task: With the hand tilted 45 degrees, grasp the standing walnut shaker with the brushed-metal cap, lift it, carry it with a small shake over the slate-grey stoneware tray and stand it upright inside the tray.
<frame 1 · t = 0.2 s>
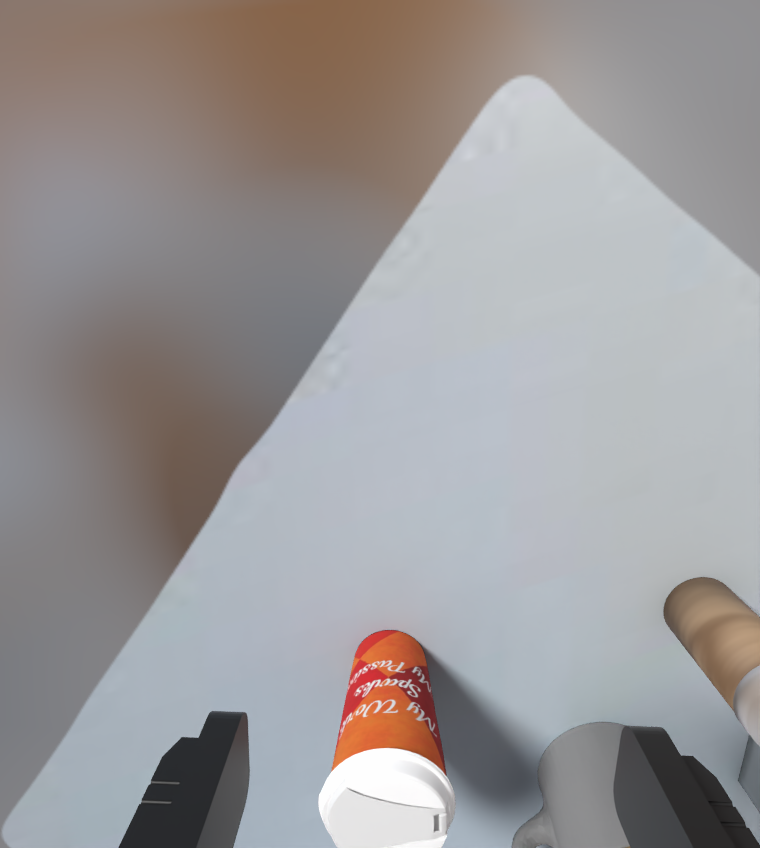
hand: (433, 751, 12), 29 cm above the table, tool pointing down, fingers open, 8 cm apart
coffee mug: (576, 774, 48), on the table
walnut shaker: (698, 608, 44), on the table
paper cup: (389, 659, 46), on the table
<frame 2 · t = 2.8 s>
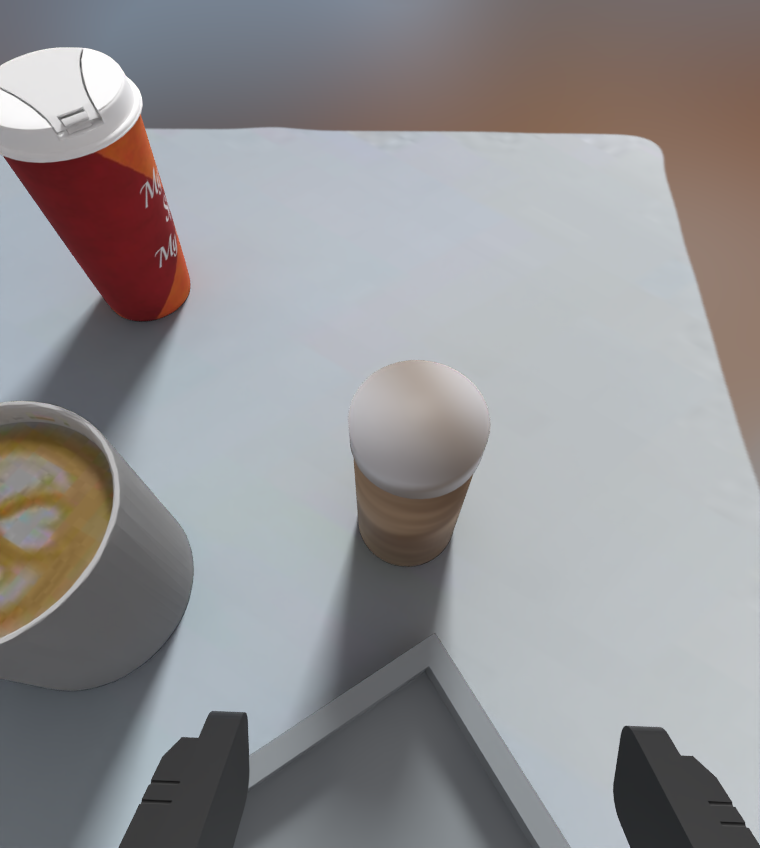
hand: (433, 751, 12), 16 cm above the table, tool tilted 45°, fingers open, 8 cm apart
coffee mug: (78, 563, 31), on the table
walnut shaker: (406, 519, 32), on the table
paper cup: (150, 291, 40), on the table
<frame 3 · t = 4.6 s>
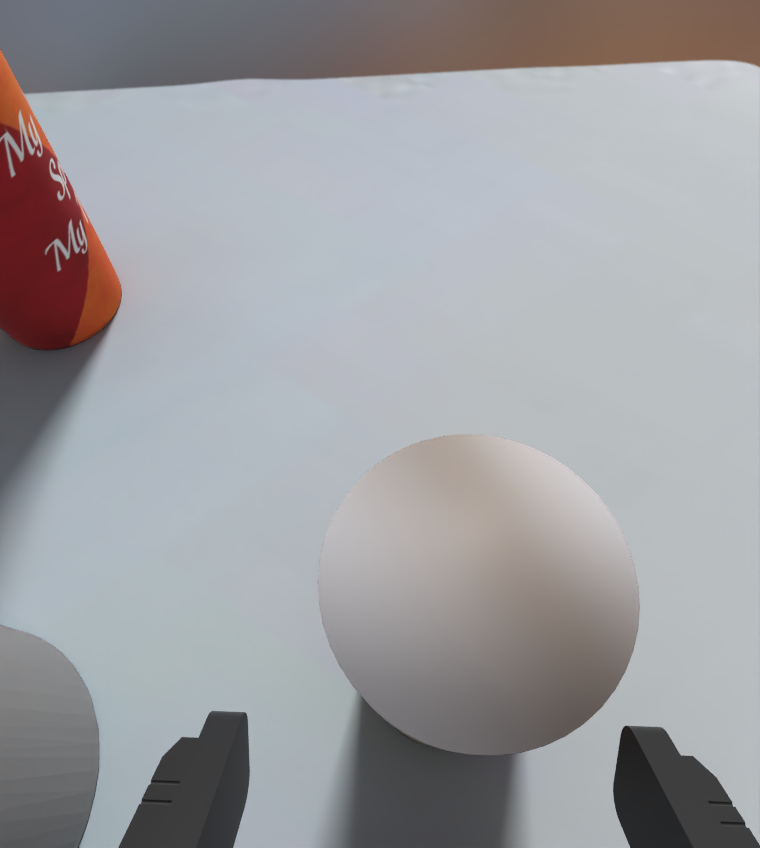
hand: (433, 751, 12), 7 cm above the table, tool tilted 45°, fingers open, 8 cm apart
walnut shaker: (443, 659, 20), on the table
paper cup: (66, 306, 28), on the table
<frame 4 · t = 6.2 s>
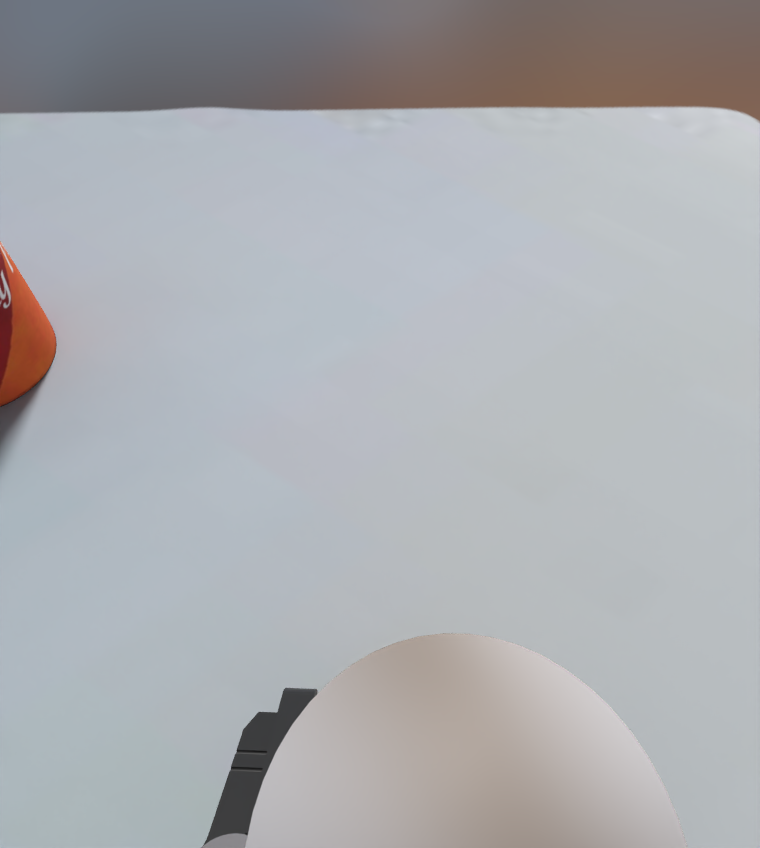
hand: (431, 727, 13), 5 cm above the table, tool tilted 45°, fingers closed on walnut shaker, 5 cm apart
walnut shaker: (417, 810, 16), on the table, touching gripper
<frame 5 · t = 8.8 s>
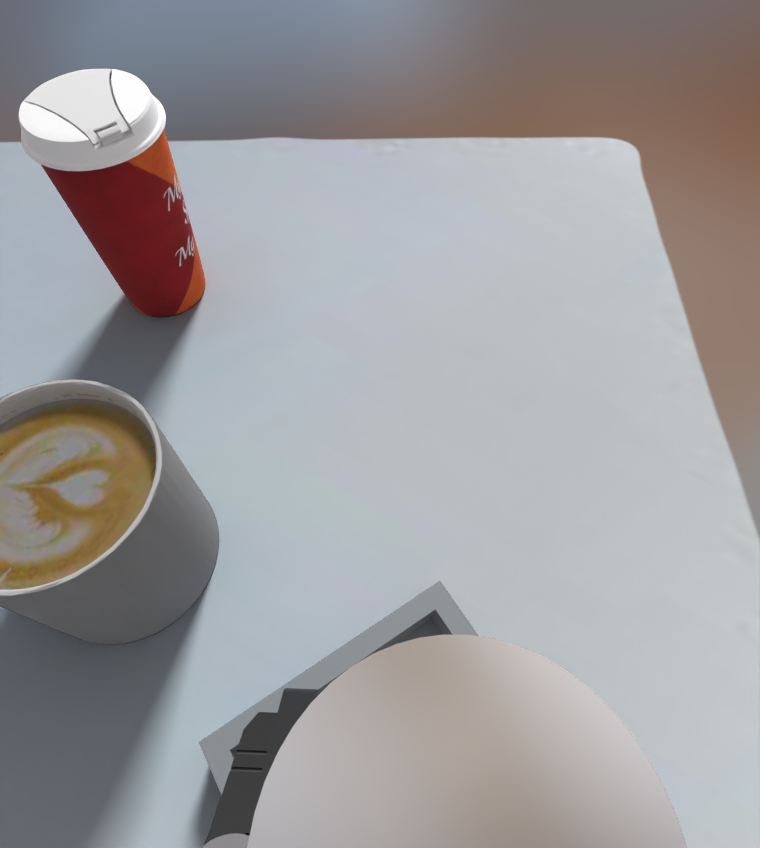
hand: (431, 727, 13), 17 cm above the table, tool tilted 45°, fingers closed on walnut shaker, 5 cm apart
coffee mug: (113, 534, 34), on the table
walnut shaker: (417, 810, 16), point 12 cm above the table, touching gripper
stoneware tray: (402, 791, 27), on the table
paper cup: (168, 290, 43), on the table
when the fingers open (7 cm above the table, at t = 11.5 s): walnut shaker drops 1 cm, resting on stoneware tray.
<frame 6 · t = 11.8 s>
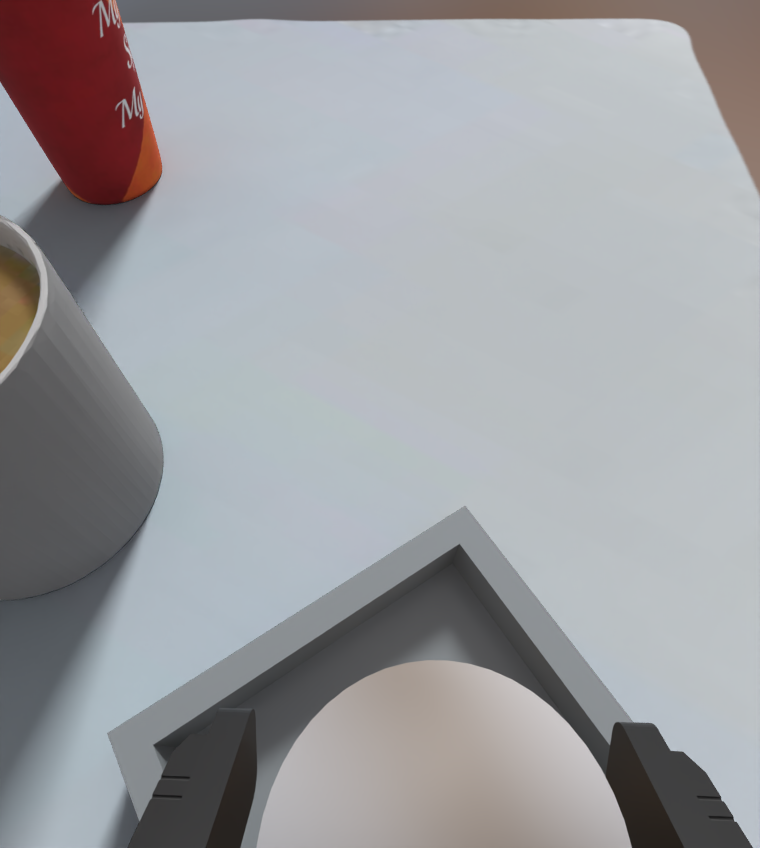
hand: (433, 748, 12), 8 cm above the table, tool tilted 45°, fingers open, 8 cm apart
coffee mug: (22, 458, 25), on the table
walnut shaker: (410, 812, 18), point 1 cm above the table, touching stoneware tray
stoneware tray: (414, 806, 18), on the table
paper cup: (116, 176, 35), on the table
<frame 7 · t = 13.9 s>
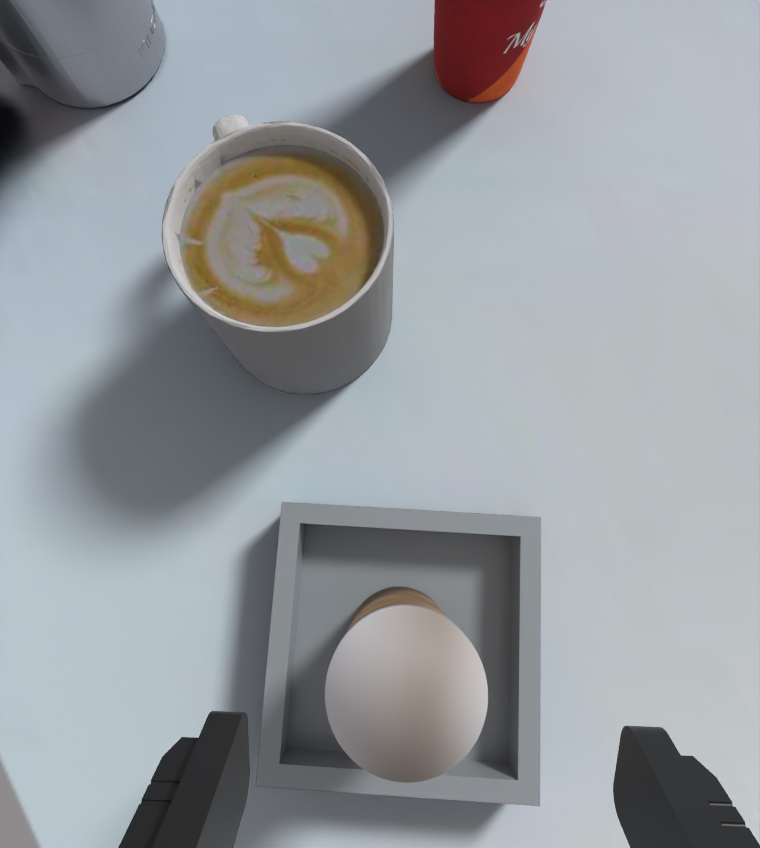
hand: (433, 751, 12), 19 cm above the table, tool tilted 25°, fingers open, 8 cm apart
coffee mug: (302, 288, 35), on the table
walnut shaker: (399, 638, 30), point 1 cm above the table, touching stoneware tray
stoneware tray: (402, 636, 31), on the table
paper cup: (475, 68, 38), on the table
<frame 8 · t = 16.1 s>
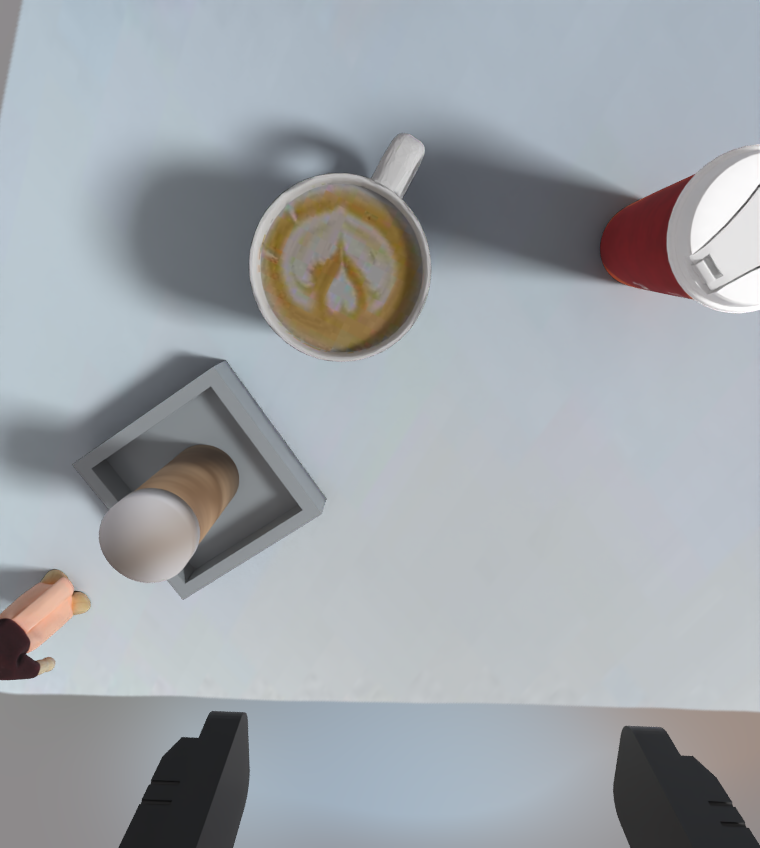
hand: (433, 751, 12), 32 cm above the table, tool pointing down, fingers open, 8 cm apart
coffee mug: (368, 252, 41), on the table
walnut shaker: (205, 477, 44), point 1 cm above the table, touching stoneware tray
stoneware tray: (210, 475, 45), on the table
paper cup: (639, 244, 40), on the table
grandmother figurine: (61, 587, 48), on the table
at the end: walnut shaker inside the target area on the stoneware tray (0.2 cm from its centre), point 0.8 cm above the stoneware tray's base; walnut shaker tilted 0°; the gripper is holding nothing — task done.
